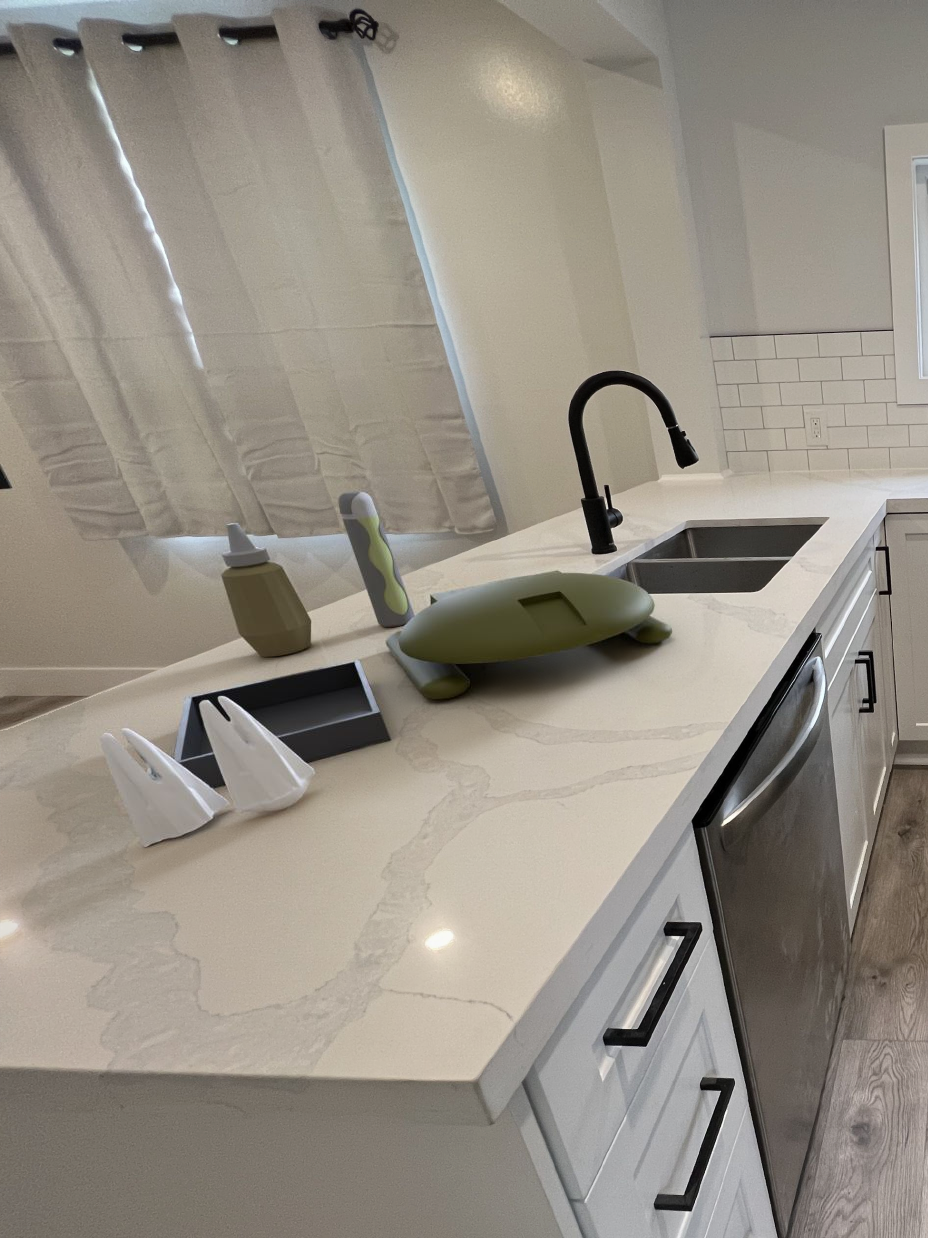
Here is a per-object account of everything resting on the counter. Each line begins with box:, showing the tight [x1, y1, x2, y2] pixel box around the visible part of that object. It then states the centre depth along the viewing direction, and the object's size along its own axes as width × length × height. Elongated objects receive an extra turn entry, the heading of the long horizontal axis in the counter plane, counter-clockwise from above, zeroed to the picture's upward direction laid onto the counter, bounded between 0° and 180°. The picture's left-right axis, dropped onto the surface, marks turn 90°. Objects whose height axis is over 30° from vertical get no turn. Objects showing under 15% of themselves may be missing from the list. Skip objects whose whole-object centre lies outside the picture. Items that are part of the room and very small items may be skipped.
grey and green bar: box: [337, 490, 416, 628], centre depth 114 cm, size 5×5×20 cm
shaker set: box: [99, 696, 316, 848], centre depth 65 cm, size 12×4×11 cm, turn 119°
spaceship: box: [385, 569, 673, 700], centre depth 103 cm, size 35×31×10 cm
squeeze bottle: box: [220, 522, 312, 657], centre depth 104 cm, size 8×8×18 cm
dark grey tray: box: [172, 659, 392, 789], centre depth 82 cm, size 21×16×3 cm
